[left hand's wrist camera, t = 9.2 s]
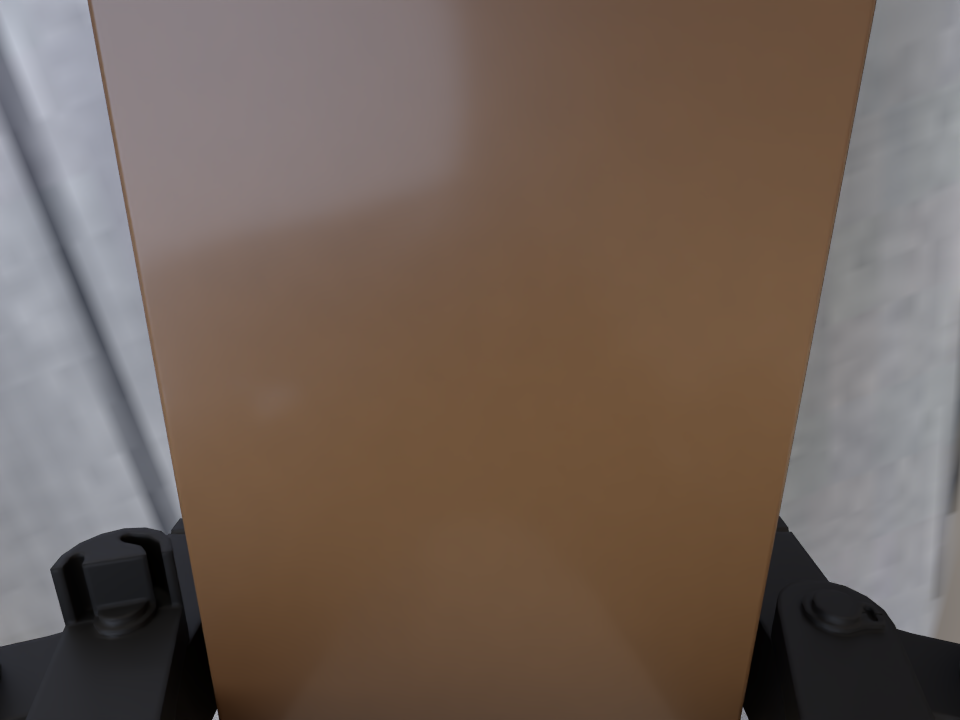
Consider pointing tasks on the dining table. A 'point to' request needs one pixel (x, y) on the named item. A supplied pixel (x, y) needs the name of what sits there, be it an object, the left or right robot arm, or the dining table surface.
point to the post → (480, 335)
